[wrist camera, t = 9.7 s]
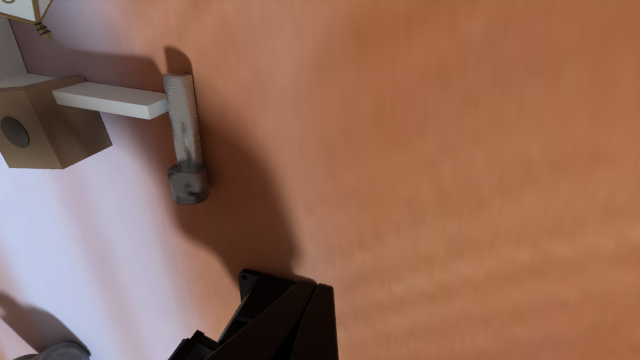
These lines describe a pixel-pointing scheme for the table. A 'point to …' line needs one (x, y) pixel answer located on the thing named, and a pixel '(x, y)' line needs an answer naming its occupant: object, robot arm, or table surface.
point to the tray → (78, 86)
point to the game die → (27, 12)
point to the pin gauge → (185, 141)
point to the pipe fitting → (59, 353)
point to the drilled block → (47, 127)
